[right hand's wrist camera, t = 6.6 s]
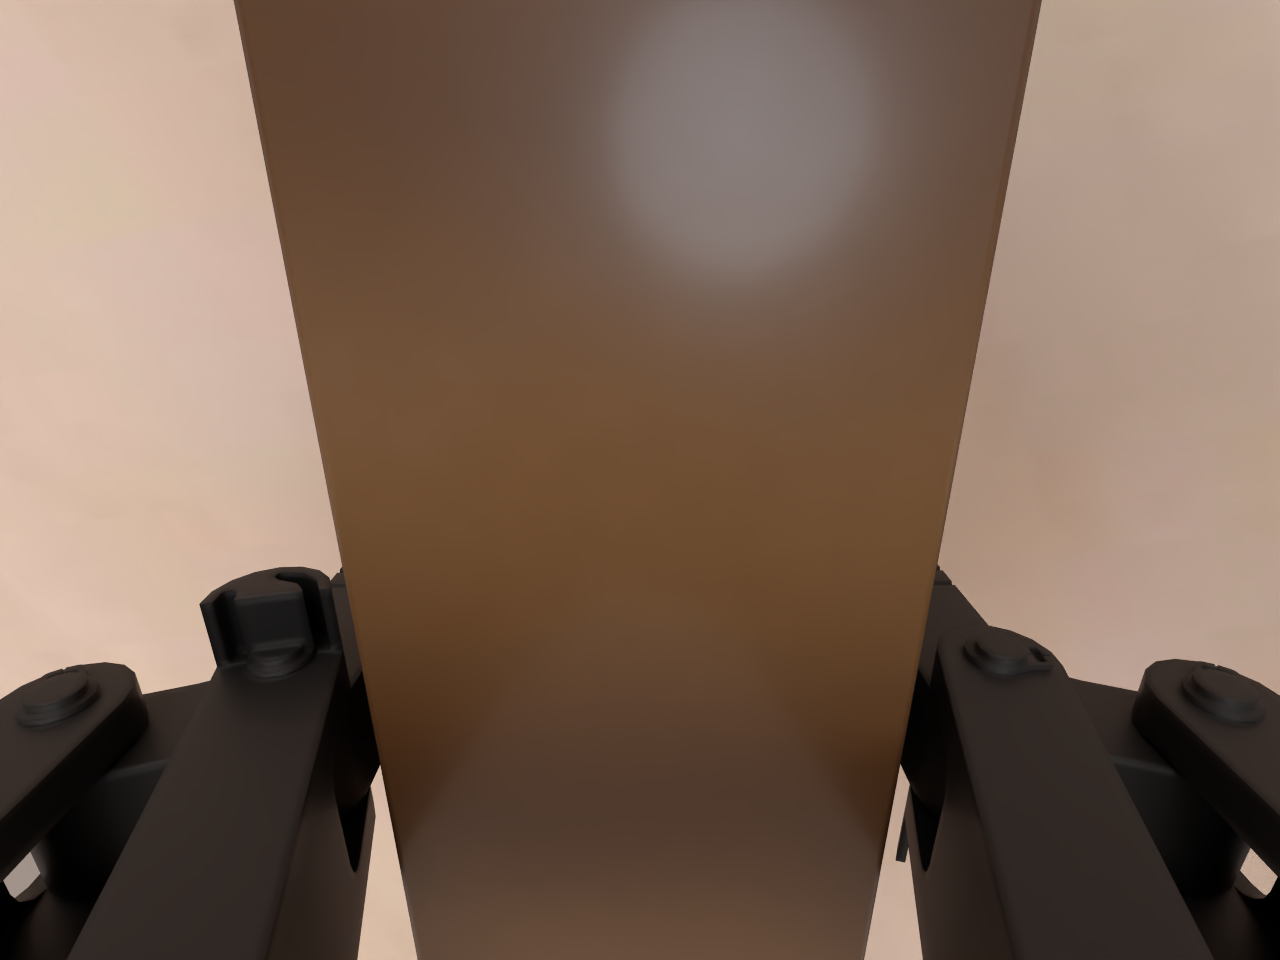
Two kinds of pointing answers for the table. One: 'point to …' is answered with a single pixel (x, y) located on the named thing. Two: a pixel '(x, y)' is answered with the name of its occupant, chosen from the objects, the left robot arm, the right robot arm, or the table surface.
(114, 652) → the table surface
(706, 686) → the post
